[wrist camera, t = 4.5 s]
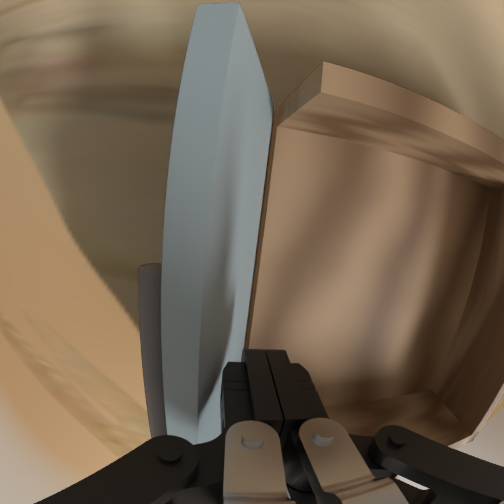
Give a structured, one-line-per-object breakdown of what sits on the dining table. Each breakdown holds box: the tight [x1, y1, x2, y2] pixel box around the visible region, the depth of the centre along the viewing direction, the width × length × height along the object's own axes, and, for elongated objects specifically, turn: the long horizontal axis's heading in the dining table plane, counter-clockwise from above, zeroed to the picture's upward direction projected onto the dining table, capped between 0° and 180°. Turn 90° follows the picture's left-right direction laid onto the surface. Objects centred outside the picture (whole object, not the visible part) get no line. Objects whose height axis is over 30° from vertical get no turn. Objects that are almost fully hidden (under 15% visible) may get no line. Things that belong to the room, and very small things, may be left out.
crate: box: [245, 61, 504, 449], centre depth 16 cm, size 20×22×9 cm
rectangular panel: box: [138, 2, 274, 445], centre depth 12 cm, size 2×22×10 cm, turn 173°
